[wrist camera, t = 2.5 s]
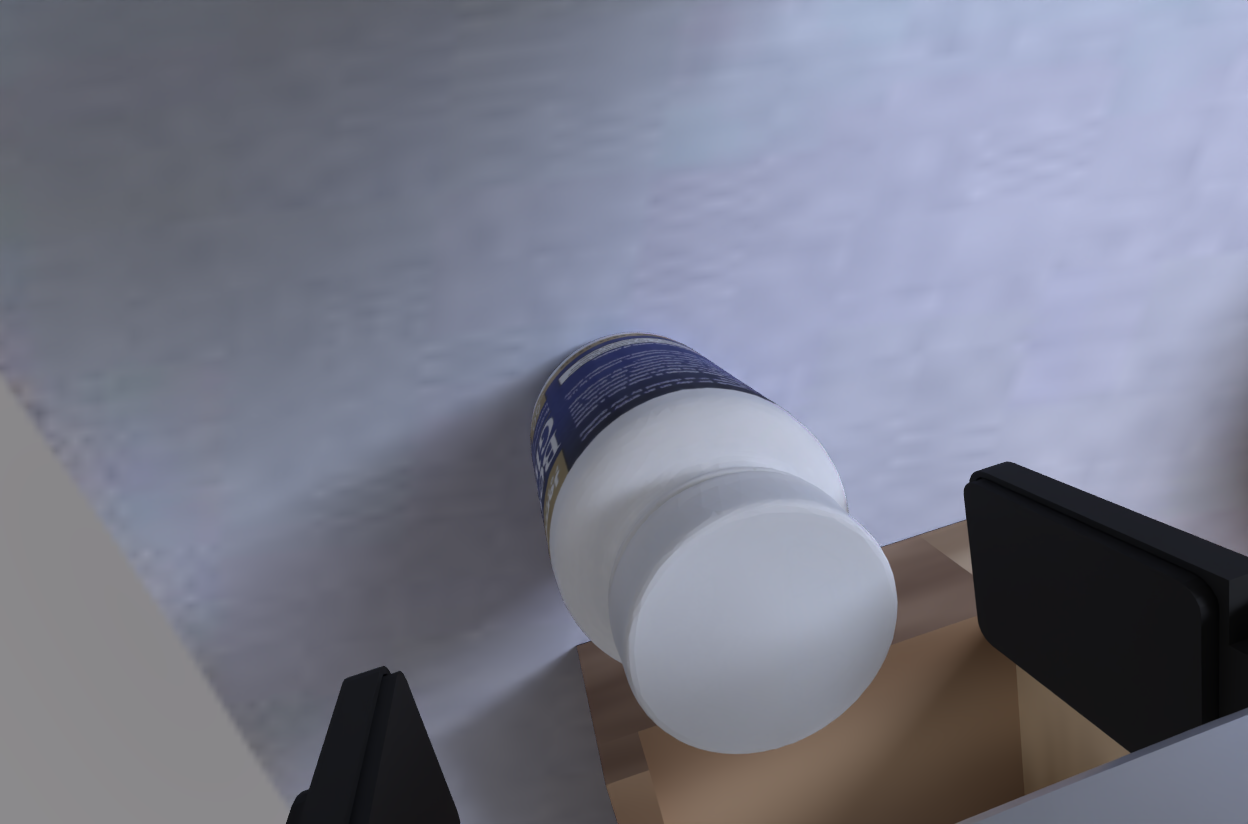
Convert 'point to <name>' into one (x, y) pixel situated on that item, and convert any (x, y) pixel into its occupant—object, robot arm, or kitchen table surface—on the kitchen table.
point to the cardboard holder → (867, 727)
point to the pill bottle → (706, 545)
